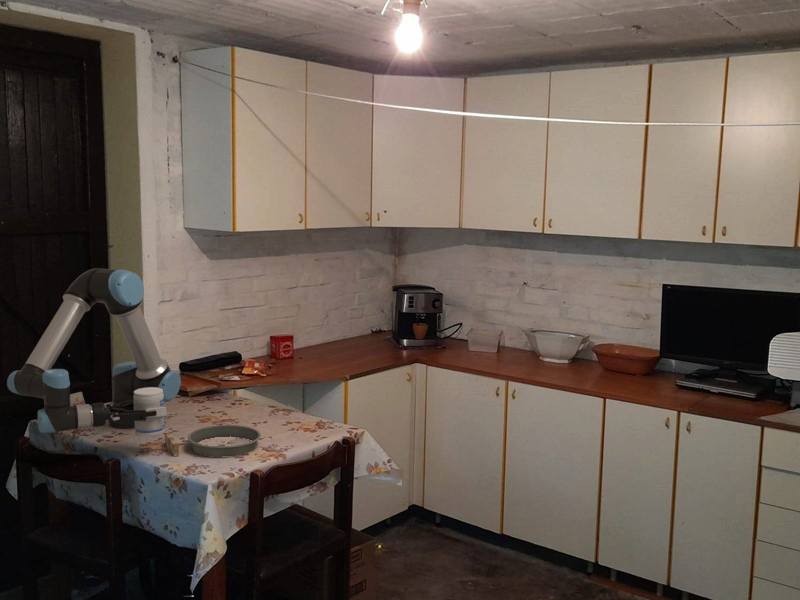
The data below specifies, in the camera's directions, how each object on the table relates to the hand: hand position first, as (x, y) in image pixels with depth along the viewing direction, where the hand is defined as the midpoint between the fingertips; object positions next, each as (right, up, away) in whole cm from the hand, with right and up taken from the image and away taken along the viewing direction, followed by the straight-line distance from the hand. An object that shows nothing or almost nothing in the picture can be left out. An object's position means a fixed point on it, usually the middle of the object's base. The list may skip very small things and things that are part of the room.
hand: (162, 406), depth 258 cm
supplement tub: (-4, -9, -1) cm, 10 cm away
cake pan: (+19, -15, +9) cm, 26 cm away
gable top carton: (-44, -10, +35) cm, 58 cm away
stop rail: (+2, -15, +4) cm, 16 cm away
